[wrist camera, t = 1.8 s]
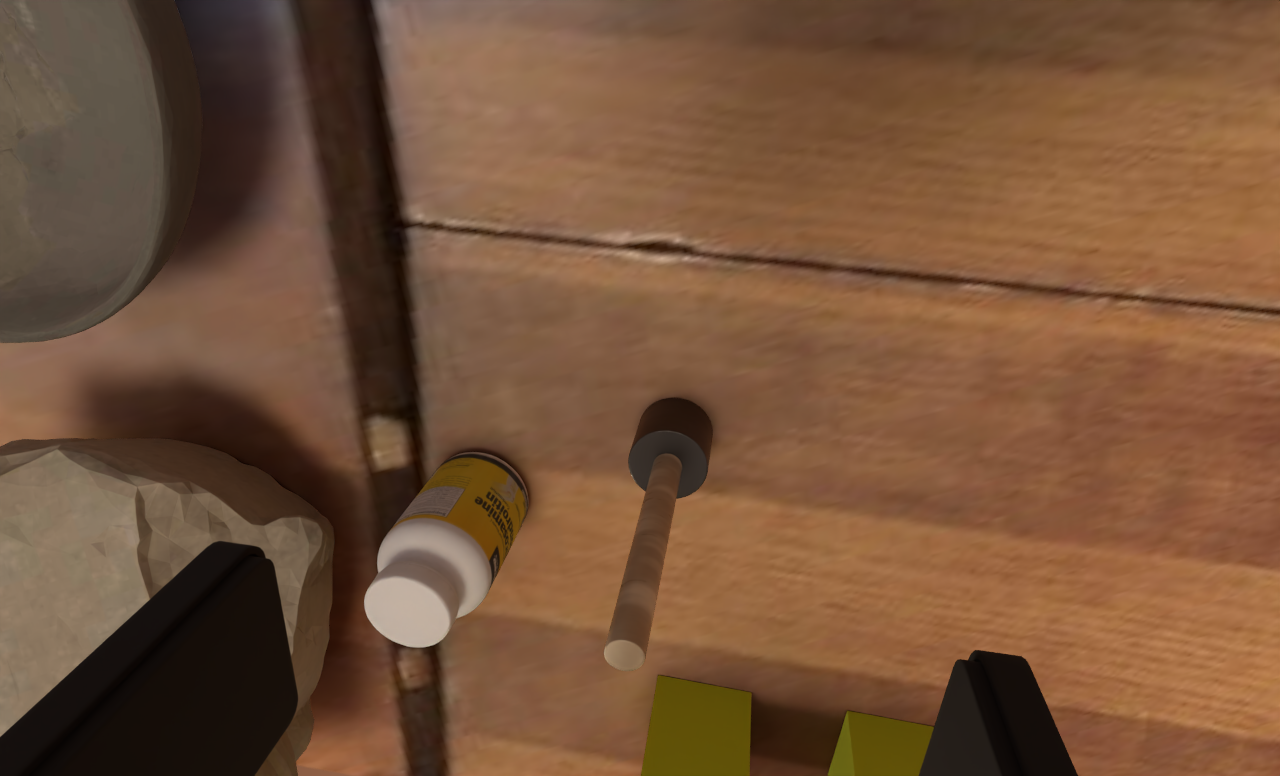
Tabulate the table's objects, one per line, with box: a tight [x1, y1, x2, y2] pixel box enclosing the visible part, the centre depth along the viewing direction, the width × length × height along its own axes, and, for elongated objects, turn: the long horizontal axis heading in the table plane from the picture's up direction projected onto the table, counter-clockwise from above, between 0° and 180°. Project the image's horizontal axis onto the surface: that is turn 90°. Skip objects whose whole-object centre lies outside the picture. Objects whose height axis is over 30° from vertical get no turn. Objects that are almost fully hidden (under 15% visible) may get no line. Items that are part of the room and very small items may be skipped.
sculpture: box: [0, 438, 335, 776], centre depth 48 cm, size 26×27×30 cm
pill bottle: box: [364, 452, 528, 647], centre depth 44 cm, size 6×6×12 cm
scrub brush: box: [604, 398, 713, 671], centre depth 37 cm, size 4×4×18 cm
